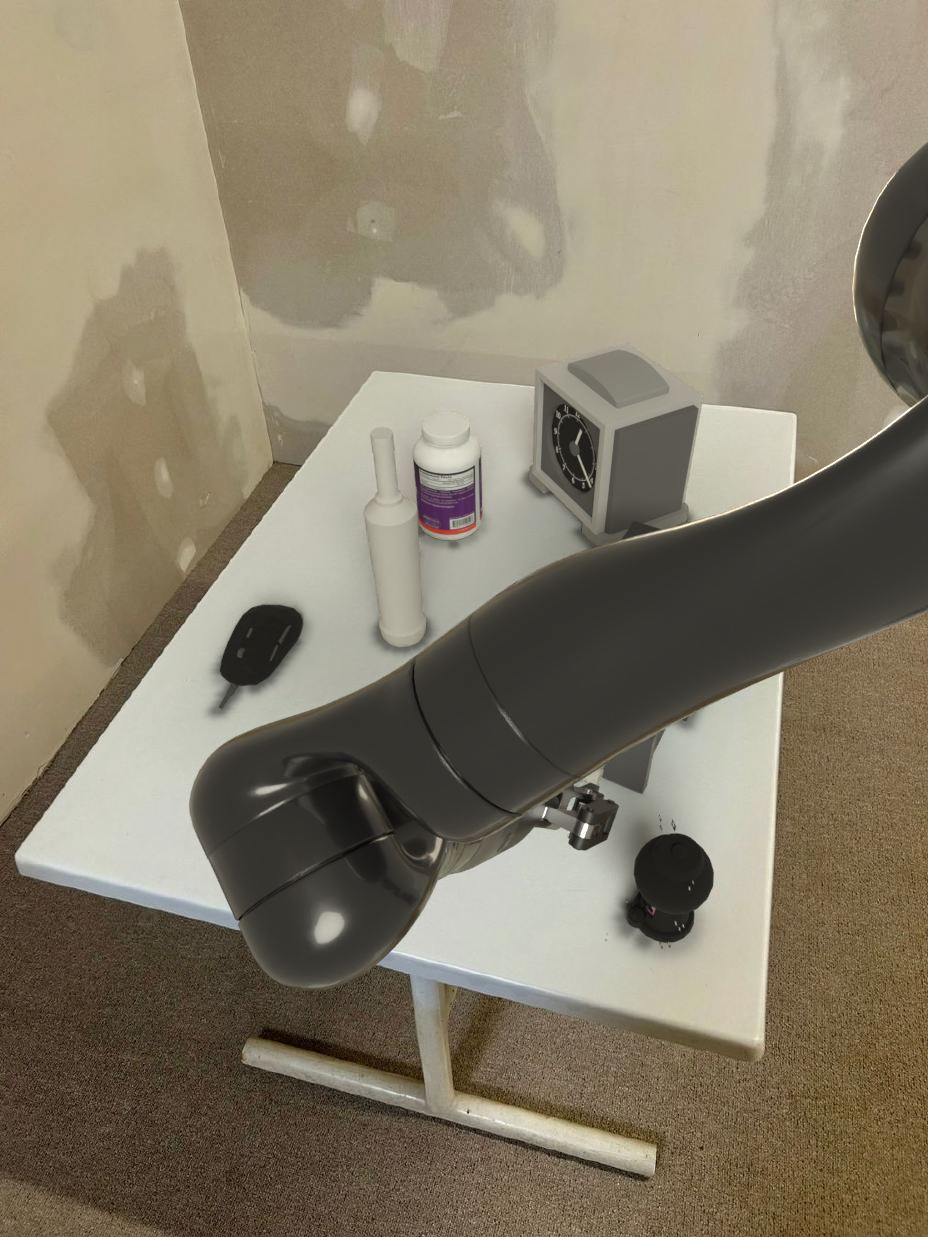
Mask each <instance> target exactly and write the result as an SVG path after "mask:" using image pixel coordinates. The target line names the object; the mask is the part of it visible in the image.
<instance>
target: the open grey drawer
mask: <svg viewBox="0 0 928 1237" xmlns="http://www.w3.org/2000/svg"><path fill="white" fill-rule="evenodd" d="M665 732H666V729H664V730H662V731H660V732H659V733H657V734H655V735H653V736H652V737H650V738H648V739H646V740H645V741H643V742H641V743H639V744H638V745H636V746H634V747H632V748H631V749H629V750H628V751H626V752H625V753H623V754H621V755H620V756H618V757H617V758H615V759H614V760H612V761H610V762H609V763H607V764H606V765H604V766H603V767H601V768H599V769H598V770H596V771H595V772H593V773H591V774H590V775H588V776H587V777H585V778H584V779H582V780H581V781H582V782H585V783H586V784H588V783H590V782H591V783H593V784H596V785H598V786H599V784H600V783H601V781H602V779H604V780H607V781H609V782H611V783H613V784H615V785H618V786H621V787H624V788H626V789H628V790H630V791H632V792H635V793H638V794H641V795H643V794H644V793H645V790H646V788H647V787H648V782H649V777H650V773H651V767H652V762H653V757H654V753H655V752H656V749H657V747H658V745H659V744H660V741H661V740H662V738H663V735H664V733H665Z"/></svg>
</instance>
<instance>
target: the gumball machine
mask: <svg viewBox="0 0 928 1237" xmlns="http://www.w3.org/2000/svg"><path fill="white" fill-rule="evenodd" d="M658 819H659V821H660V822H662V816H661V815H660V813H659V815H658ZM670 823H671V824H670V825H671V826H672V829H673V831H674V832H673V833H665V834H660V835H658V836H655V837H653V838H651V839H649V840H648V841H647V842H646V843H645V844H644V845H642V846H641V848H640V849H639V851H638V853H637V855H636V856H635V860H634V867H633V877H634V881H635V882H634V883H635V885H636V889H637V890H638V891H637V893H636V894H635V897H634V899H633V900H632V904H631V907H630V908H629V909H628V911H627V918H626V921H627V923H628V925H629V926H630V927H632V928H634V929H639V931H640V932H641V933H642V934H643V935H645V937H647V938H649V939H651V940H653V941H655V942H658V943H659V946H660V949H663V948H664V946H663V944H662V943H664V944H667V945H668V948H669V949H671V946H672V945H671V943H676V942H678V941H681V940H684V939H685V938H686V937H687V936H688V935H689V934H690V933H691V932H692V929H693V927H694V925H695V911H696V910H697V909H699V908H700V907H701V906H703V904H704V903H705V902H706V901H708V898H709V896H710V894H711V893H712V890H713V888H714V878H715V872H714V871H715V870H714V868H713V863H712V861H711V858H710V857H709V855H708V853H707V852H706V850H705V849H704V848H703V847H702V846H701V845H700V844H699V843H697V842H696V840H695V839H693V838H692V837H690V836H688V835H686V834H684V833H679V832H676V829H677V826H676V823H675V821H674V819H673V818H672V819H671V822H670ZM659 828H660V830H661V831H663V827H662V825H661V824H660V826H659ZM625 902H626V905H627V906H628V905H629V902H628V898H626V899H625Z"/></svg>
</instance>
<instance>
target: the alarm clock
mask: <svg viewBox="0 0 928 1237" xmlns="http://www.w3.org/2000/svg"><path fill="white" fill-rule="evenodd" d="M533 394H534V397H533V399H534V400H533V431H532V432H533V434H532V435H533V437H532V464H531V465H530V466H529V473H528V474H529V476H528V481H529V482H530V483H531V484H532V485H533V486H534V487H535V488H536V489H537V490H539V492H540V493H542V494H547V493H549V492H551V493H552V494H553V495H554V496H555V497H556V498H557V499H558V500H559V501H560V502H561V503H562V504H563V505H564V506H565V507H566V508H568V510H569V511H570V512H572V514H573V515H575V516H576V517H577V518H578V520H580V522H582V526H581V533H582V534H583V535H584V537H586V538H587V539H588V540H589V542H590V543H591V544H593V546H594V547H596V546H600V545H604V544H608V543H611V542H615V541H619V540H621V539H622V538H623V536H624V535H625V533H626V532H627V530H628V529H629V527H630V526H631V525H632V523H633V522H634V521H636V522H639V523H642V524H646V525H649V526H653V527H656V528H659V529H667V528H671V527H675V526H679V525H683V524H685V523H686V521H687V520H688V516H689V510H690V507H689V505H688V504H687V503H686V497H687V492H688V486H689V480H690V474H691V469H692V464H693V457H694V453H695V445H696V442H697V441H696V440H697V436H698V430H699V425H700V420H701V419H700V418H701V413H702V408H703V402H704V396H705V394H704V393H702V392H701V391H700V390H698V389H697V388H695V387H694V386H692V385H691V384H690V383H688V382H687V381H685V380H684V379H682V378H681V377H679V376H678V375H676V374H675V373H673V372H672V371H671V370H669V369H668V368H666V367H665V366H663V365H661V363H659V362H657V361H656V360H655V359H653V358H651V357H650V356H649V355H648V354H645V352H643V351H641V350H640V349H638V348H637V347H635V346H634V345H633V344H631V343H630V342H628V341H626V342H621V343H618V344H614V345H611V346H608V347H605V348H601V349H597V350H594V351H590V352H587V353H583V354H580V355H576V356H573V357H569V358H566V359H562V360H558V361H555V362H551V363H549V364H545V365H542V366H538V367H535V368H534V393H533Z"/></svg>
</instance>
